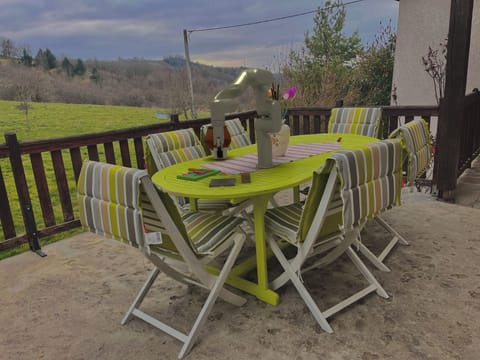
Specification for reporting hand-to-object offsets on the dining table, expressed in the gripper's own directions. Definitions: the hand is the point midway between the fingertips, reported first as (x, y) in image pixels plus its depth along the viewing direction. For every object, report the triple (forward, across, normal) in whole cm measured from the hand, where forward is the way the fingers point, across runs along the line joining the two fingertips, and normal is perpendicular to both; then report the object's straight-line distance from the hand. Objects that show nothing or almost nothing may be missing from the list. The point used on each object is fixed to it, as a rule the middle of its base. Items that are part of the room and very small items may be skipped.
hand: (220, 156), depth 203 cm
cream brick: (+1, 0, 0) cm, 1 cm away
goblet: (+15, -70, -8) cm, 72 cm away
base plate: (+15, 0, 0) cm, 15 cm away
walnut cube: (+15, 0, +13) cm, 20 cm away
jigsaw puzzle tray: (+16, -24, -20) cm, 35 cm away
